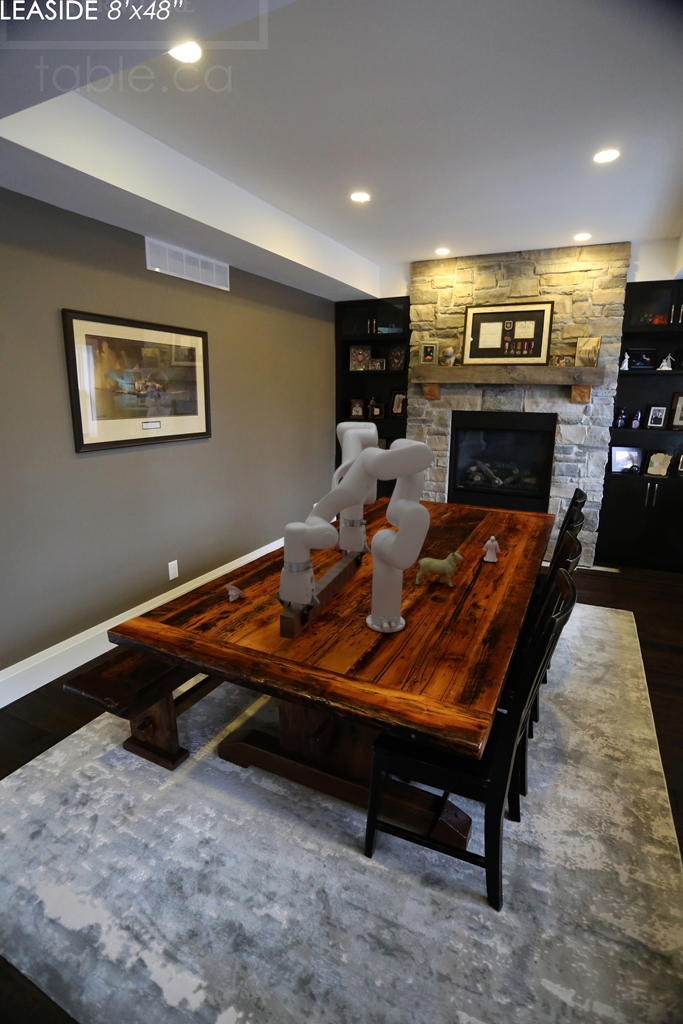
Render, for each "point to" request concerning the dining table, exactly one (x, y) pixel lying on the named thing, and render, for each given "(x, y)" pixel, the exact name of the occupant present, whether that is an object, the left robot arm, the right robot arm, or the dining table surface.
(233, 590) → the seashell
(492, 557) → the figurine
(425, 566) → the toy
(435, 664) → the dining table surface
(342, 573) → the beam
